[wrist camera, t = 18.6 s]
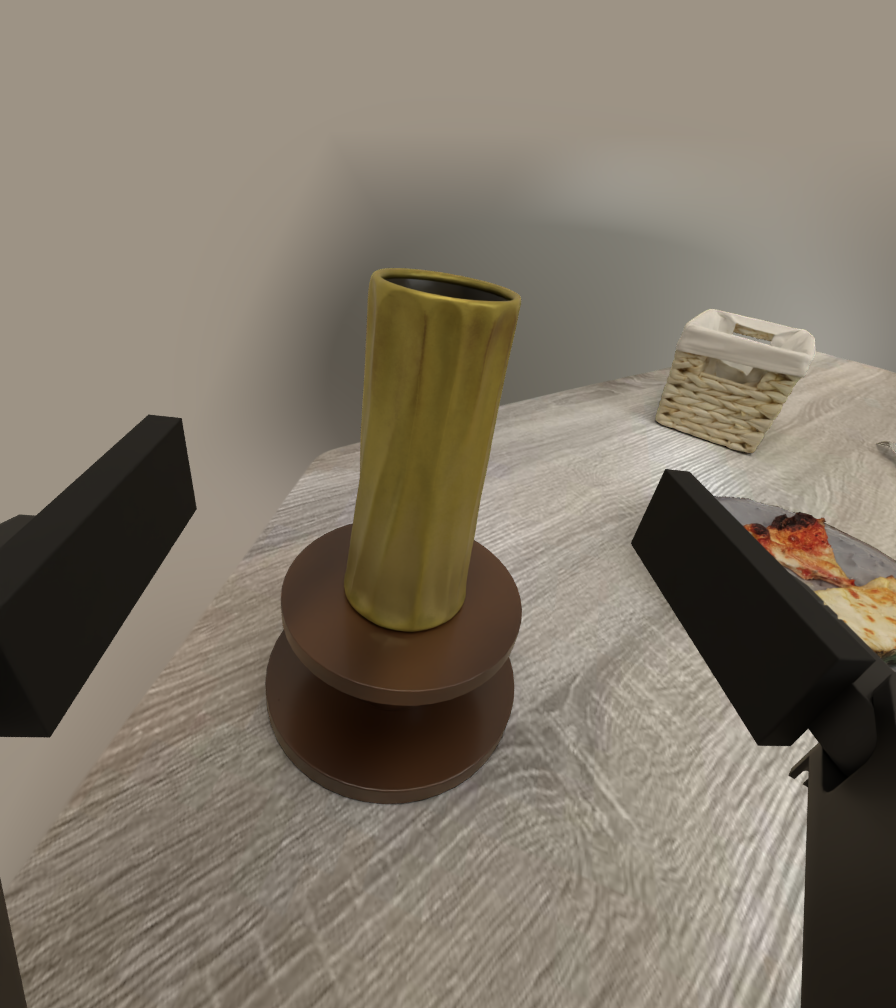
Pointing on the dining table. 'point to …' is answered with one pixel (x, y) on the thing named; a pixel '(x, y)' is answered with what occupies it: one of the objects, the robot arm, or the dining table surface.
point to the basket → (732, 378)
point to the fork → (894, 446)
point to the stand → (390, 682)
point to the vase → (425, 441)
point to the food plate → (830, 568)
